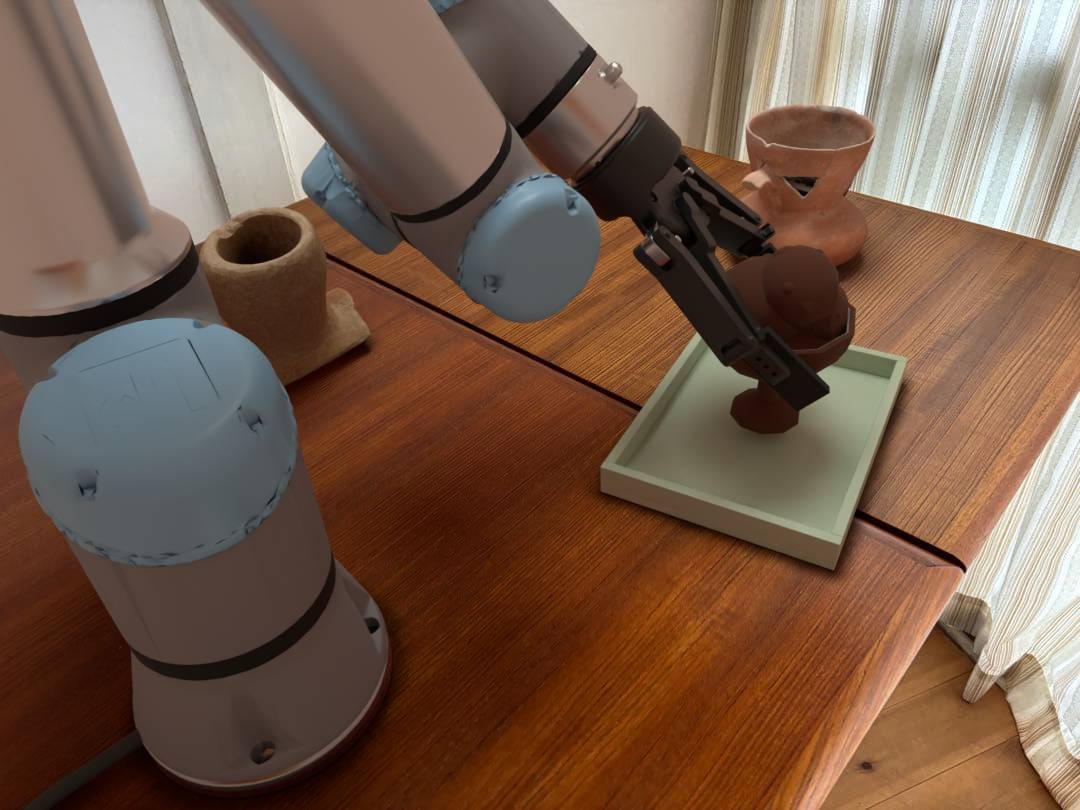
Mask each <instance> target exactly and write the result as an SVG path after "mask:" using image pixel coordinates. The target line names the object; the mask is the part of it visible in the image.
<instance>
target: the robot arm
mask: <svg viewBox="0 0 1080 810" xmlns="http://www.w3.org/2000/svg"><path fill="white" fill-rule="evenodd" d="M197 1H198V2H199V3H200V4H201V5H202V6H203V7H204V9H205V10H206V11H207V12H208V13H209V14H210V15H211V16H212V17H213V18H214V19H215V21H217V23H218V24H219V25H220V26H221V27H222V28H223V30H224V31H225V32H226V33H227V34H228V35H229V36H230V37H231V38H232V40H234V41H235V43H236V44H237V45H238V46H239V47H240V48H241V49H242V51H244V52H245V53H246V55H247V56H248V57H249V58H250V59H251V61H253V62H254V64H255V65H256V66H257V67H258V68H259V69H260V70H261V71H262V72H263V74H264V75H265V76H266V77H267V78H268V79H269V80H270V81H271V82H272V84H273V85H274V86H275V87H276V88H277V89H278V91H280V92H281V93H282V95H284V97H285V98H286V99H287V100H288V101H289V102H290V103H291V104H292V105H293V107H295V109H296V110H298V112H299V113H300V114H301V115H302V116H303V118H304V119H305V120H306V121H307V122H308V123H309V125H311V126H312V127H313V128H314V130H316V132H317V133H318V134H319V135H320V136H321V137H322V138H323V140H324V143H323V144H322V146H321V148H319V150H318V152H316V154H315V155H314V157H313V158H312V159H311V161H310V162H309V164H308V165H307V166H306V167H305V168H304V170H303V172H302V175H301V179H300V184H301V189H302V190H303V192H304V194H305V195H306V196H307V197H308V198H309V199H310V200H311V201H312V202H313V203H314V204H315V205H316V206H318V207H319V209H321V210H322V211H323V212H324V213H325V214H327V216H328V217H330V218H331V219H332V220H333V221H334V222H336V224H338V225H339V226H340V227H341V228H343V229H344V230H345V231H346V232H347V233H349V234H350V235H351V236H352V237H354V238H355V239H356V240H357V241H359V242H360V243H361V244H362V245H363V246H364V247H366V248H367V249H368V250H370V251H371V252H372V253H373V254H376V255H379V256H385V255H388V254H390V253H392V252H393V251H394V250H395V249H396V248H397V247H398V246H399V245H401V243H403V242H405V243H406V244H408V245H410V246H411V248H413V249H415V250H417V251H419V253H421V254H422V255H423V256H424V257H425V258H426V259H427V260H428V261H429V262H431V263H432V264H433V265H434V266H435V267H436V268H437V269H438V270H439V271H441V272H442V274H444V275H445V276H446V277H447V278H449V280H451V281H452V282H453V283H454V284H455V285H456V286H457V287H458V288H460V289H461V291H462V292H464V293H465V295H466V297H467V298H468V299H469V300H470V301H471V302H472V303H474V304H476V305H480V306H483V307H484V308H485V309H486V310H488V311H490V312H491V313H492V314H494V315H495V316H496V317H499V318H500V319H502V320H505V321H508V322H511V323H518V324H531V323H536V322H541V321H544V320H547V319H550V318H551V317H554V316H555V315H557V314H559V313H561V311H563V310H565V309H566V308H567V307H568V305H570V303H572V302H574V301H575V299H576V297H577V296H578V295H579V294H581V293H582V292H583V291H584V289H585V288H586V287H587V285H588V284H589V282H590V280H591V279H592V276H593V274H594V272H595V269H596V266H597V264H598V261H599V257H600V251H601V246H602V245H601V242H602V241H601V240H602V237H601V234H602V233H601V228H600V222H599V219H600V221H603V222H606V223H610V222H615V221H617V220H619V218H630V219H631V221H632V222H633V223H634V225H635V226H636V227H637V229H638V231H639V232H640V233H641V235H642V236H643V237H644V239H643V240H642V241H641V242H640V243H639V244H637V245H636V246H635V247H634V248H633V249H632V254H633V256H634V258H635V259H636V260H637V261H638V262H639V263H640V264H641V265H642V266H643V267H644V268H645V269H646V270H647V271H648V272H649V273H650V274H651V275H652V276H653V277H654V278H655V279H656V281H658V283H659V284H660V285H661V287H662V288H663V289H664V290H665V292H666V293H667V294H668V296H669V297H670V298H671V300H672V301H673V302H674V304H675V305H676V306H677V308H678V309H679V310H680V311H681V313H682V314H683V316H684V317H685V318H686V319H687V321H688V322H689V323H690V324H691V326H692V327H693V328H694V330H695V331H696V332H698V334H699V335H700V336H701V337H702V339H703V340H704V341H705V343H706V344H707V345H708V347H709V348H710V349H711V351H712V352H713V353H714V354H715V356H716V357H717V358H718V360H719V361H720V362H721V363H722V365H724V366H725V367H729V366H731V365H732V364H734V363H735V362H737V361H738V360H740V359H741V358H742V359H743V360H744V361H745V362H746V363H747V364H748V365H749V366H750V367H751V368H752V369H753V370H754V371H755V372H756V373H757V374H758V375H759V376H760V377H761V378H762V379H763V380H764V381H765V382H766V383H768V384H769V385H770V386H771V387H772V388H773V389H774V390H775V391H776V392H777V393H778V394H779V395H780V396H781V397H782V398H783V399H784V400H785V401H786V402H787V403H788V404H789V405H790V406H791V407H792V408H794V409H795V410H796V411H797V412H798V411H800V410H802V409H803V408H805V407H807V406H809V405H810V404H812V403H814V402H815V401H817V400H819V399H821V398H822V397H824V396H826V395H827V394H829V393H830V387H829V385H828V384H827V383H826V382H825V381H824V380H823V379H822V378H821V377H820V376H819V375H818V374H816V373H815V372H814V371H813V370H812V369H811V368H810V367H809V366H808V365H807V364H806V363H805V362H804V361H803V360H802V359H801V358H800V357H799V356H798V355H797V354H796V353H795V352H794V351H793V350H792V349H791V348H790V347H789V346H788V345H787V344H786V343H785V342H784V341H783V340H782V339H781V338H780V337H779V336H778V335H777V334H776V333H775V332H774V331H773V330H772V329H771V328H770V327H769V326H767V327H765V328H764V329H762V328H761V326H760V325H759V323H758V321H757V320H756V318H755V317H754V315H753V314H752V312H751V310H750V309H749V307H748V306H747V304H746V302H745V301H744V299H743V298H742V296H741V295H740V293H739V291H738V290H737V288H736V287H735V285H734V283H733V282H732V280H731V279H730V277H729V276H728V274H727V270H726V269H725V267H724V266H723V264H722V263H721V261H720V260H719V258H718V256H717V255H716V250H717V247H718V248H720V249H721V250H724V251H726V252H728V253H729V254H732V255H733V256H736V257H738V258H740V259H741V260H742V259H745V258H744V257H745V256H747V257H748V258H750V257H757V256H763V255H764V254H769V253H770V254H773V253H774V252H775V251H776V250H777V249H776V248H775V247H774V246H773V245H772V243H771V242H769V243H768V244H767V243H766V241H767V240H768V239H770V238H771V237H772V236H774V235H775V234H776V232H775V230H774V228H773V227H772V225H771V224H770V223H766V224H765V225H764V226H762V227H761V228H759V226H760V225H762V224H763V222H762V219H761V217H760V216H759V215H758V214H757V213H756V212H754V211H753V210H752V209H750V208H749V207H748V206H747V205H745V204H744V203H743V202H742V201H740V200H741V199H739V198H738V197H736V196H735V195H734V194H733V193H732V192H730V190H728V189H727V188H725V186H723V185H722V184H720V182H718V181H716V180H715V179H714V178H712V177H711V176H710V175H709V174H707V173H706V172H705V171H704V170H703V169H701V168H700V167H699V166H698V165H697V164H696V163H695V162H694V161H693V159H692V158H690V156H689V155H687V153H686V152H685V151H683V150H682V146H683V145H682V139H681V137H680V136H679V135H678V133H676V131H674V130H673V128H671V127H670V125H668V123H667V122H666V121H665V120H664V119H663V118H662V117H661V116H660V115H659V114H658V113H657V112H656V111H655V110H654V109H653V108H652V107H651V106H646V105H642V106H639V107H637V104H638V101H639V96H638V95H639V94H638V93H637V92H636V91H635V90H634V89H633V88H632V87H631V86H630V85H629V84H628V83H627V82H626V81H625V80H624V78H622V77H621V75H622V74H623V71H624V70H623V66H622V65H621V63H619V62H617V61H613V62H610V63H609V64H608V62H607V61H606V59H604V57H602V56H601V55H600V53H599V52H597V50H595V48H594V47H593V46H592V45H591V44H590V43H589V42H588V41H587V40H586V39H585V38H584V37H583V36H582V35H581V34H580V33H579V32H578V30H576V29H575V27H574V26H573V25H572V24H571V23H570V22H569V21H568V20H567V19H566V18H565V16H564V15H563V14H562V13H561V12H560V11H559V10H558V8H557V7H555V6H554V4H553V3H552V2H551V1H550V0H197ZM96 58H97V57H96V55H95V54H94V51H93V48H92V45H91V43H90V40H89V37H88V34H87V32H86V28H85V27H84V24H83V21H82V19H81V16H80V14H79V11H78V8H77V5H76V3H75V0H0V348H1V349H2V352H4V354H5V356H6V358H7V360H8V362H9V364H10V365H11V367H12V369H13V371H14V373H15V374H16V377H17V378H18V380H19V382H20V384H21V386H22V388H23V390H24V392H25V394H26V395H25V396H26V398H25V401H24V403H23V404H24V405H23V407H22V410H21V414H20V418H19V423H18V445H19V450H20V455H21V457H22V461H23V463H24V465H25V468H26V475H27V478H28V479H27V480H28V481H29V485H30V487H31V488H30V489H31V491H32V493H33V495H34V498H35V499H36V501H37V503H38V504H39V506H40V507H41V509H42V511H43V512H44V513H45V515H46V516H48V517H49V518H50V519H51V521H52V523H53V524H54V526H55V527H56V529H57V530H58V531H59V532H60V533H62V535H63V538H64V539H65V540H66V542H67V544H68V545H69V548H70V549H71V550H72V552H73V554H74V556H75V558H76V559H77V561H78V563H79V564H80V566H81V568H82V569H83V571H84V573H85V574H86V576H87V578H88V580H89V582H90V583H91V585H92V586H93V588H94V591H96V593H97V595H98V597H99V598H100V601H101V602H102V604H103V605H104V607H105V608H106V610H107V612H108V614H109V615H110V617H111V619H112V620H113V622H114V624H115V626H116V628H117V629H118V631H119V632H120V635H121V636H122V637H123V639H124V641H125V642H126V644H127V646H128V647H129V649H130V656H131V657H130V659H131V661H130V662H131V663H130V665H131V683H132V711H133V712H132V713H133V719H134V724H135V729H134V730H133V731H131V732H130V733H129V734H127V735H126V736H124V737H123V738H121V739H120V740H118V741H117V742H115V743H113V744H112V745H111V746H109V747H108V748H106V749H105V750H103V751H101V752H100V753H99V754H98V755H96V756H94V757H93V758H92V759H90V760H88V761H87V762H85V763H83V765H81V766H79V767H78V768H76V769H74V770H73V771H71V772H70V773H68V774H67V775H65V776H63V777H62V778H61V779H59V780H58V781H56V782H55V783H54V784H52V785H51V786H49V787H48V788H47V789H46V790H44V791H43V792H42V793H40V794H39V795H38V796H37V797H36V798H34V800H32V801H31V802H30V803H28V805H26V806H25V807H24V808H23V809H22V810H52V809H53V808H54V807H55V806H56V805H58V804H59V803H60V802H63V800H65V799H66V798H67V797H69V796H70V795H72V794H73V793H74V792H76V791H78V790H79V789H81V788H82V787H84V786H85V785H87V784H88V783H90V782H91V781H93V780H95V779H96V778H97V777H99V776H101V775H102V774H103V773H105V772H106V771H107V770H110V768H112V767H113V766H115V765H116V764H118V763H119V762H121V761H122V760H124V759H125V758H127V757H128V756H129V755H131V754H132V753H134V752H136V751H137V750H139V749H140V748H142V747H144V748H145V749H146V751H147V752H148V754H149V755H150V757H151V759H152V760H153V761H154V763H155V765H157V767H158V769H160V771H161V772H163V773H164V775H165V776H166V777H167V778H169V779H170V780H172V781H173V782H174V783H176V784H178V785H179V786H182V787H183V788H185V789H187V790H190V791H192V792H195V793H197V794H201V795H205V796H209V797H216V798H228V799H229V798H231V799H235V798H236V799H237V798H250V797H256V796H263V795H266V794H270V793H274V792H278V791H281V790H285V789H286V788H289V787H292V786H294V785H297V784H299V783H300V782H301V783H302V782H303V781H305V780H306V779H309V778H310V777H313V776H315V775H316V774H318V773H320V772H321V771H322V770H324V769H325V768H328V766H329V765H331V764H332V763H334V762H335V761H337V760H338V759H339V758H340V757H341V756H342V755H344V753H346V752H347V751H348V750H350V748H351V747H353V745H354V744H355V743H356V742H357V741H358V740H359V738H360V737H361V736H362V735H363V734H364V733H365V731H366V730H367V729H368V727H369V726H370V725H371V723H372V722H373V720H374V719H375V717H376V715H377V714H378V712H379V710H380V708H381V706H382V704H383V701H384V700H385V697H386V694H387V692H388V689H389V685H390V680H391V677H392V669H393V652H392V644H391V640H390V637H389V636H390V635H389V632H388V628H387V624H386V621H385V618H384V616H383V613H382V612H381V609H380V608H379V605H378V604H377V602H376V600H375V599H374V598H373V597H372V596H371V594H370V593H369V592H368V591H367V590H366V589H365V587H363V585H362V584H360V582H358V580H357V579H356V578H355V577H354V576H353V575H352V574H351V573H350V572H349V570H347V569H346V568H345V567H344V566H343V564H341V562H340V561H339V560H338V559H337V558H335V556H334V553H333V549H332V546H331V544H330V540H329V536H328V533H327V530H326V526H325V522H324V520H323V517H322V513H321V509H320V507H319V503H318V500H317V497H316V493H315V490H314V486H313V484H312V480H311V477H310V474H309V470H308V468H307V464H306V460H305V457H304V454H303V451H302V447H301V444H300V441H299V437H298V436H299V431H298V430H299V429H298V424H297V420H296V417H295V416H296V415H295V411H294V407H293V405H292V403H291V400H290V396H289V394H288V392H287V390H286V388H285V386H283V385H282V383H281V381H280V380H279V378H278V377H277V375H276V373H275V371H274V369H273V367H272V365H271V363H270V362H269V360H268V359H267V358H266V356H265V355H264V354H263V353H262V352H261V351H260V350H259V349H258V347H257V346H256V345H255V344H253V343H252V342H251V341H250V340H248V339H247V338H245V337H244V336H242V335H241V334H239V333H237V332H236V331H233V330H232V329H231V328H230V327H227V326H226V325H225V324H224V322H223V318H222V317H221V316H220V315H219V312H218V309H217V307H216V304H215V301H214V298H213V295H212V292H211V290H210V287H209V284H208V281H207V278H206V276H205V273H204V270H203V267H202V264H201V262H200V259H199V253H198V251H197V249H196V246H195V242H194V240H193V237H192V234H191V231H190V229H189V226H188V225H186V223H185V222H184V221H183V220H181V219H180V218H179V217H177V216H175V215H173V214H171V213H168V212H167V211H164V210H163V209H160V208H158V207H156V206H154V205H152V204H151V202H150V200H149V197H148V195H147V191H146V190H145V187H144V186H145V185H144V184H143V182H142V179H141V175H140V173H139V170H138V168H137V165H136V162H135V160H134V158H133V154H132V152H131V149H130V147H129V144H128V141H127V138H126V136H125V134H124V130H123V127H122V125H121V122H120V120H119V117H118V115H117V112H116V110H115V107H114V103H113V101H112V98H111V95H110V93H109V91H108V87H107V85H106V82H105V80H104V77H103V74H102V72H101V69H100V67H99V64H98V61H97V59H96ZM535 158H536V159H537V160H538V161H539V162H540V163H541V164H542V165H543V166H544V167H545V168H546V169H547V170H548V171H549V172H547V171H546V170H545V169H544V168H543V167H542V166H541V165H540V164H539V162H538V161H537V160H536V159H535ZM569 179H570V180H571V182H570V183H568V181H567V180H569ZM741 217H743V218H744V219H743V218H741ZM598 218H599V219H598Z"/></svg>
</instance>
